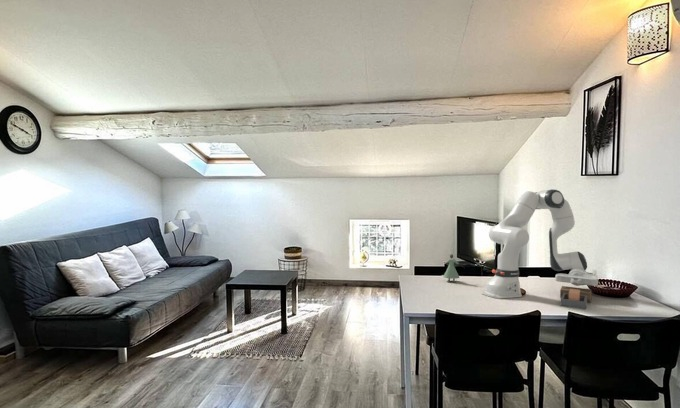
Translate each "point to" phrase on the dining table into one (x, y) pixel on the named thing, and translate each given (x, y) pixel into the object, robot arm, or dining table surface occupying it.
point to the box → (574, 301)
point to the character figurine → (451, 269)
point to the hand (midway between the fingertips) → (575, 282)
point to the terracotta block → (574, 294)
